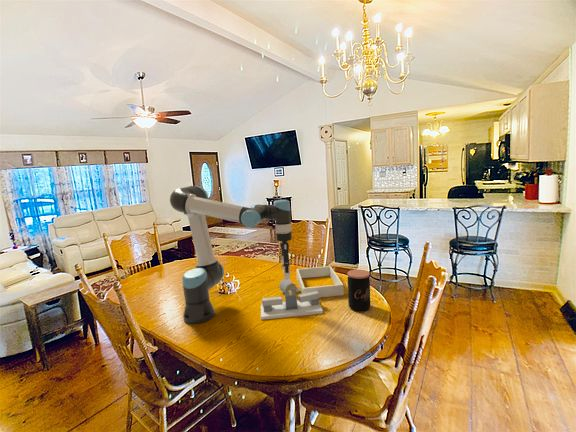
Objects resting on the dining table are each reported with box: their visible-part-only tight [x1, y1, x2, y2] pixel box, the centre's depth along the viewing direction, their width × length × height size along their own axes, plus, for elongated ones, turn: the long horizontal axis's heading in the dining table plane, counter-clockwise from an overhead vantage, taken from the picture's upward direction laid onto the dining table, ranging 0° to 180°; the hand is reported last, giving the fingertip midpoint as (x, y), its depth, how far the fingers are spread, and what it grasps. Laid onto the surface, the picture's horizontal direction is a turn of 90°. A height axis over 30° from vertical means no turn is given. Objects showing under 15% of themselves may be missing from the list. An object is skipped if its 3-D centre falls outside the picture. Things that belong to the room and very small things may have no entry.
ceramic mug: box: [278, 278, 301, 294], centre depth 179 cm, size 11×8×8 cm
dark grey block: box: [284, 290, 298, 310], centre depth 158 cm, size 6×6×8 cm
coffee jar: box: [346, 268, 371, 313], centre depth 155 cm, size 11×11×18 cm
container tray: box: [296, 265, 345, 299], centre depth 187 cm, size 22×32×6 cm
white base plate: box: [260, 291, 324, 321], centre depth 159 cm, size 30×14×7 cm, turn 95°
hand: (286, 273), depth 156 cm, fingers open, 13 cm apart
